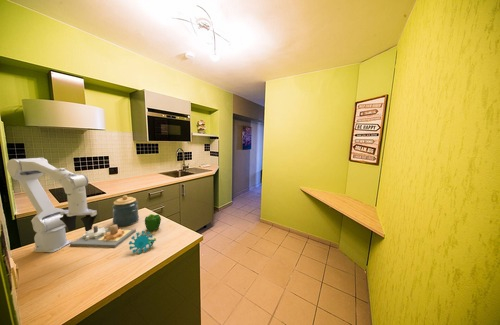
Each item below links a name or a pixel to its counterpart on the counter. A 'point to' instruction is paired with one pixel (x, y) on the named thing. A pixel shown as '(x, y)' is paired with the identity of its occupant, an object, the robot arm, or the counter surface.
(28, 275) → the counter surface
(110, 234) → the wood gear
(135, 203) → the canister
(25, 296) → the counter surface
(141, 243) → the teal virus toy
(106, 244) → the gear board
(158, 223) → the bell pepper
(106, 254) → the counter surface
